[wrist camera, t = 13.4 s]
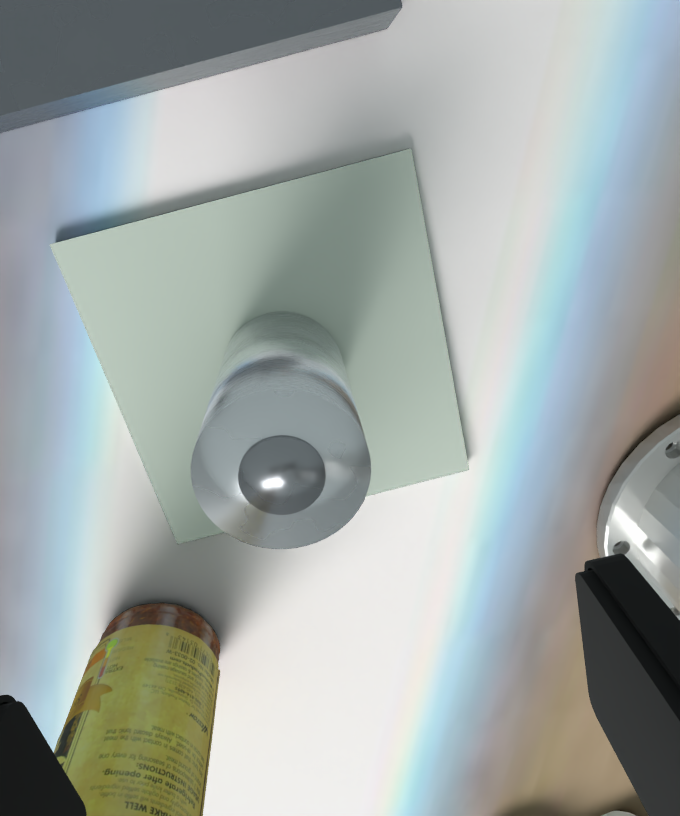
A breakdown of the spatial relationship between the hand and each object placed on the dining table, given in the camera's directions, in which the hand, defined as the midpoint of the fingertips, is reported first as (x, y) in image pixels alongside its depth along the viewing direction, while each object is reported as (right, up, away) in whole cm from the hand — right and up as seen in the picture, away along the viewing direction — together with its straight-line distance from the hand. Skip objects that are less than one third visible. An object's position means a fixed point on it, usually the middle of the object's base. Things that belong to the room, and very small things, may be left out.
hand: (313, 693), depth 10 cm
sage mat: (-2, +7, +15) cm, 17 cm away
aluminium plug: (-2, +6, +15) cm, 16 cm away
